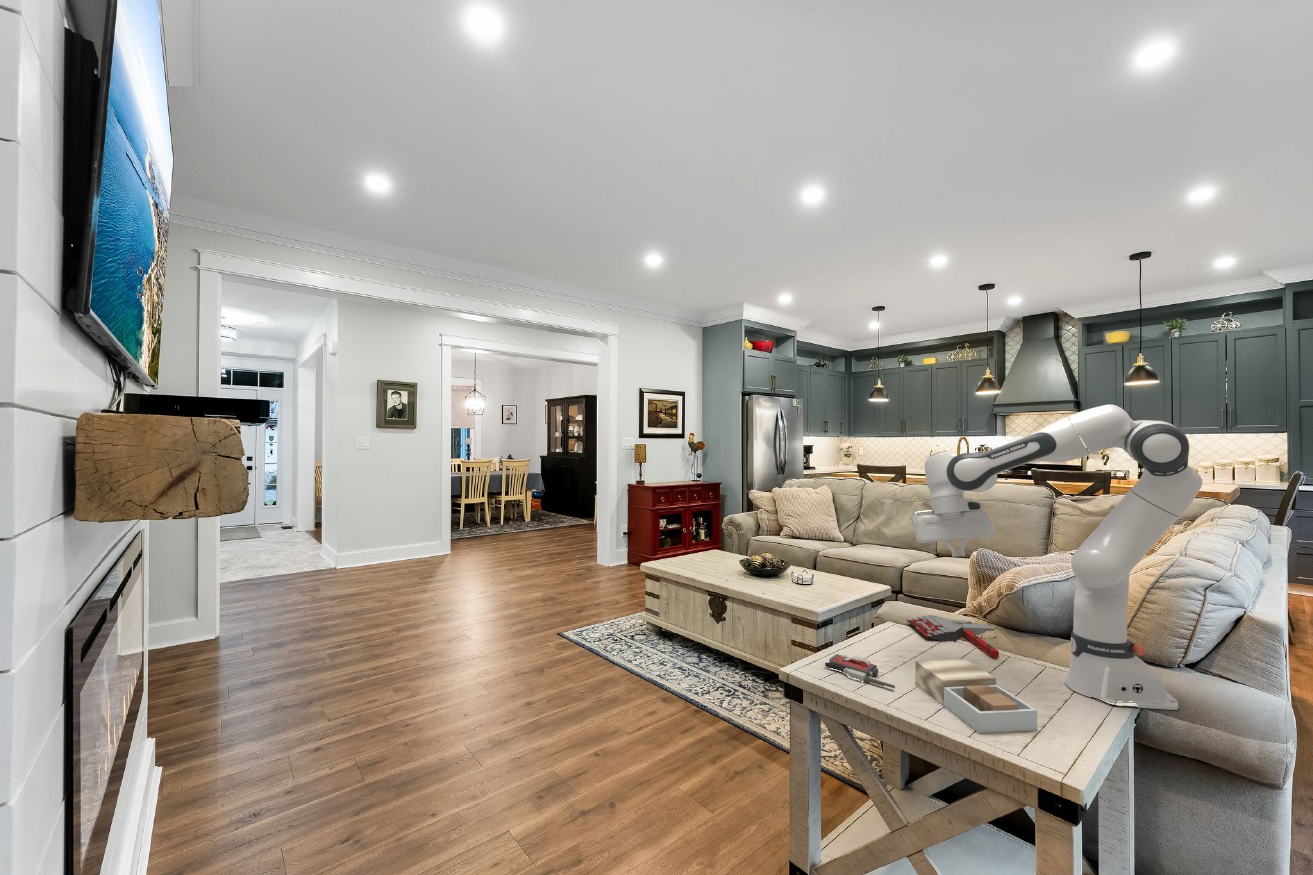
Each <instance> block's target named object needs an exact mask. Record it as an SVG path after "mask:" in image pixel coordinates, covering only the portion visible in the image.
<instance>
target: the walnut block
mask: <svg viewBox="0 0 1313 875" xmlns="http://www.w3.org/2000/svg"><path fill="white" fill-rule="evenodd" d="M964 700H965V701H967V702H968V703H969V704H971V705H972V706H974V707H975V708H976V709H978V710H979V711H999V710H1018V704H1016V703H1015V702H1013V701H1012V700H1010V699H1009V698H1007V697H1005V696H1004V695H1002V694H1001V693H999V692H998V691H996V690H995V689H993V688H991V687H990V686H988V685H976V686H964Z"/></svg>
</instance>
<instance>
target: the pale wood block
mask: <svg viewBox="0 0 1313 875" xmlns="http://www.w3.org/2000/svg"><path fill="white" fill-rule="evenodd" d="M914 683H915V685H917V686H918V687H920V689H922V690H923V691H924V692H926V693H927V694H928V695H930V696H931V697H932V698H933V699H934V700H936V701H937V702H939V703H940V704H941V705H942V706H944V687H961V686H976V685H997V678H996V677H995V676H993V675H992V674H990V673H989V672H986V671H985V670H984V669H982V668H981V667H978V666H977V665H975V664H973V663H972V662H970V661H969V660H967V659H966V658H965V659H964V658H959V659H957V658H955V659H937V660H916V661H915V682H914Z"/></svg>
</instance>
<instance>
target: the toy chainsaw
mask: <svg viewBox="0 0 1313 875" xmlns="http://www.w3.org/2000/svg"><path fill="white" fill-rule="evenodd" d="M828 660H829V662H825V663H824V666H825V668H826V667H827V668H829V667H830V668H833V669H837V670H841V671H842V672H844V673H846V674H848V675H849V676H850V677H852V678H856V679H859V680H860V681H865V682H866V681H867V683H872V684H875V685H878V686H882V687H884V686H885V687H888V688H892V689H895V688H896V686H895V685H894V684H892V683H888V682H885V681H881V680H879V679H875V678H873V677H872V676H874V675H875V676H874V677H877V676H878V675H879V668H877V665H876V664H874V663H871V661H870V660H869V659H866V658H862V657H860V656H857V655H855V656H853V657H849V656H847V654H843V655H841V654H838V653H837V654H835V655H833V656H832V657H830V658H829V659H828ZM871 677H872V678H871Z"/></svg>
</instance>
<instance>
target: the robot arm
mask: <svg viewBox="0 0 1313 875" xmlns="http://www.w3.org/2000/svg"><path fill="white" fill-rule="evenodd" d="M1114 448H1115V449H1116V448H1117V449H1118V448H1119V449H1122V450H1123V451H1124V452H1125V453H1127V455H1128V456H1129V457H1130V458H1131V459H1132V460H1133V461H1135V462H1137V463H1138V464H1139V465H1140V466H1142V468H1143V470H1142V474H1141V476H1140V478H1139V480H1138V481H1137V482H1135V484H1134V485H1133V486H1132V487H1131V488H1130V489H1129V491H1127V492H1126V494H1125V495H1124V496H1123V497H1122V499H1120V500H1119V502H1118V503H1117V504H1116V505H1115V506H1114V508H1113V509H1112V510H1111V511H1110V512H1109V513H1108V514H1107V515H1106V516H1105V517H1104V519H1103V520H1102V521H1101V522H1100V523H1099V524H1098V526H1097V527H1096V528H1095V529H1094V530H1093V531H1092V532H1091V533H1090V535H1088V537H1087V538H1086V539H1085V540H1084V541H1083V542H1082V543H1081V545H1080V546H1079V547H1078V548H1077V549H1076V550H1075V552H1074V553H1073V554H1072V556H1071V561H1070V565H1071V569H1072V571H1073V574H1074V575H1075V577H1076V579H1075V580H1076V581H1075V589H1074V599H1073V626H1072V627H1073V628H1072V631H1071V632H1070V633H1071V634H1070V636H1071V637H1070V652H1071V658H1070V666H1069V669H1068V673H1067V676H1066V678H1065V680H1064V683H1065V685H1066V686H1067V688H1069V689H1071V690H1072V691H1075V693H1078V694H1080V695H1083V696H1086V697H1088V698H1091V697H1095V698H1097V699H1102V700H1104V701H1107V702H1110V703H1136V704H1138V708H1139V709H1150V710H1151V709H1152V710H1153V709H1154V710H1170V711H1177V710H1179V708H1180V706H1179V702H1178V701H1177V699H1176V698H1175V697H1174V696H1173V695H1172V694H1171V693H1169V692H1168V691H1167V689H1166V685H1165V682H1164V680H1163V678H1162V676H1161V675H1160V674H1159V673H1158V672H1157V671H1156V670H1154V669H1153V667H1151V666H1150V665H1148V663H1146V662H1144V661H1143V660H1142V659H1140V657H1138V656H1144V654H1145V653H1146V651H1145V649H1144V648H1143V647H1142V646H1140V645H1139V644H1135V643H1134V642H1132V641H1131V640H1129V639H1128V610H1129V608H1128V606H1129V605H1128V604H1129V593H1130V592H1129V590H1130V589H1129V588H1130V573H1131V571H1132V570H1133V569H1134V568H1135V566H1137V564H1138V563H1139V562H1140V561H1141V560H1142V559H1143V557H1144V556H1145V555H1146V554H1147V553H1148V552H1149V551H1150V550H1151V549H1152V548H1153V546H1154V545H1155V544H1156V543H1157V542H1158V541H1159V539H1161V537H1163V535H1164V534H1165V533H1166V532H1167V531H1168V530H1169V529H1171V527H1172V526H1173V525H1174V524H1175V522H1176V521H1178V519H1179V518H1180V517H1181V516H1182V515H1183V514H1184V513H1185V512H1186V511H1187V510H1188V508H1189V507H1190V505H1191V504H1192V503H1193V502H1194V500H1195V498H1196V497H1197V495H1198V494H1199V492H1200V490H1201V489H1202V486H1203V478H1202V476H1201V475H1200V474H1199V473H1198V471H1196V470H1195V469H1194V468H1193V467H1190V466H1189V456H1190V455H1189V454H1190V442H1189V439H1188V437H1187V435H1186V433H1184V432H1183V430H1181V429H1179V428H1178V427H1177V426H1175V425H1173V424H1172V423H1171V422H1170V423H1169V422H1166V421H1163V420H1157V419H1148V418H1147V419H1145V418H1144V419H1143V418H1139V419H1137V418H1131V416H1130V415H1129V413H1127V411H1126V410H1124V409H1123V408H1122V407H1120V406H1118V405H1115V404H1104V405H1100V406H1096V407H1091V408H1088V409H1085V410H1081V411H1079V412H1076V413H1073V414H1071V415H1068V416H1064V417H1063V418H1061V419H1058V420H1056V421H1054V422H1051V423H1050V424H1048V425H1046V426H1044V427H1042V428H1040V429H1039V430H1037V431H1034V432H1032V433H1030V434H1029V435H1027V436H1024V437H1022V438H1019V439H1017V440H1014V441H1012V442H1008V443H1006V444H1003V445H1001V446H997V447H995V448H992V449H989V450H987V451H983V452H966V453H965V452H964V453H960V454H956V453H954V452H952V451H949V450H948V451H947V450H944V451H939V452H936V453H933V454H931V455H929V456H928V457H927V458H926V460H925V462H924V473H925V481H926V486H927V488H928V490H929V494H930V495H929V502H930V505H931V509H926V510H918V511H916V512H914V513H913V514H912V516H911V521H912V524H913V526H914V528H915V529H914V530H915V538H916V542H918V543H919V544H925V543H926V544H928V543H936V542H939V543H940V542H945V546H946V547H947V548H948V549H949V550H950V552H951V556H952V558H955V557H956V558H957V557H965V556H966V554H965V549H966V547H967V540H971V539H981V538H982V539H983V538H992V537H993V536H994V535H995V528H994V524H993V522H992V521H993V520H992V519H991V517H990V514H989V513H988V512H986V511H985V504H984V503H983V502H981V501H975V500H970V499H966V498H965V497H964V493H965V492H973V493H983V492H986V491H989V490H990V489H992V488H993V487H994V486H995V485H996V482H997V480H998V474H1000V473H1003V472H1006V471H1007V470H1011V469H1014V468H1016V467H1020V466H1023V465H1026V464H1029V463H1035V462H1050V463H1065V462H1071V461H1075V460H1078V459H1082V458H1084V457H1085V458H1086V457H1088V456H1090V455H1093V454H1095V453H1099V452H1101V451H1103V450H1108V449H1114ZM953 541H959V542H958V543H959V544H960V548H959V549H955V548H954V547H953V546H952V545H953ZM1097 699H1096V700H1097ZM1117 701H1122V702H1117ZM1129 701H1133V702H1129Z"/></svg>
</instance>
